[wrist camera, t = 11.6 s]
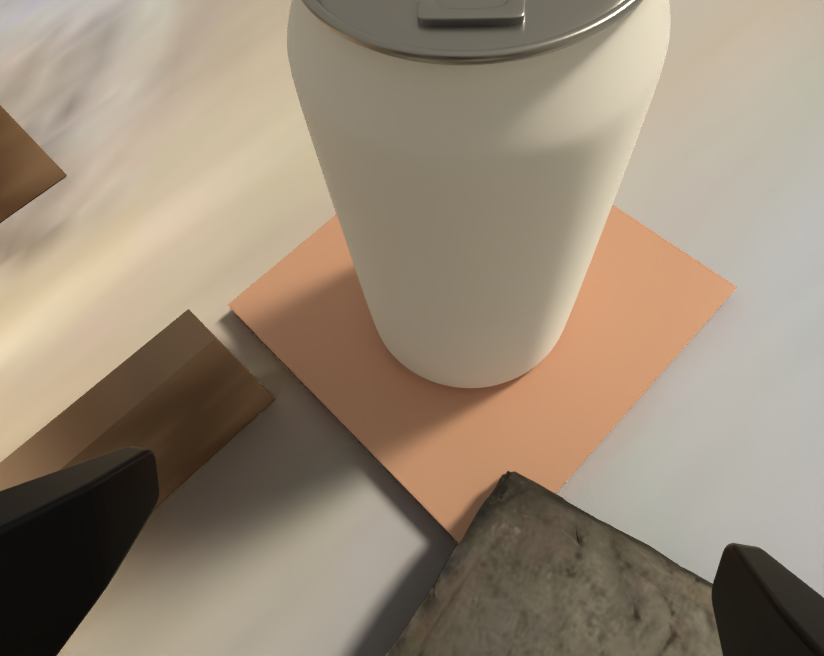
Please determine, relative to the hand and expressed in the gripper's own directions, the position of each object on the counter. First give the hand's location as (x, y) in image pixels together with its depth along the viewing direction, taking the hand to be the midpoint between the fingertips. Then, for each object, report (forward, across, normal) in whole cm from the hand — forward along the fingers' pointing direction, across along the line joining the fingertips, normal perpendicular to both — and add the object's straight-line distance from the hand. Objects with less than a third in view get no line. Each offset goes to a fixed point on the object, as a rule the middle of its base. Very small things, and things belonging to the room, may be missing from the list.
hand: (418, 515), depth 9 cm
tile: (+12, 0, 0) cm, 12 cm away
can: (+11, 0, 0) cm, 11 cm away
